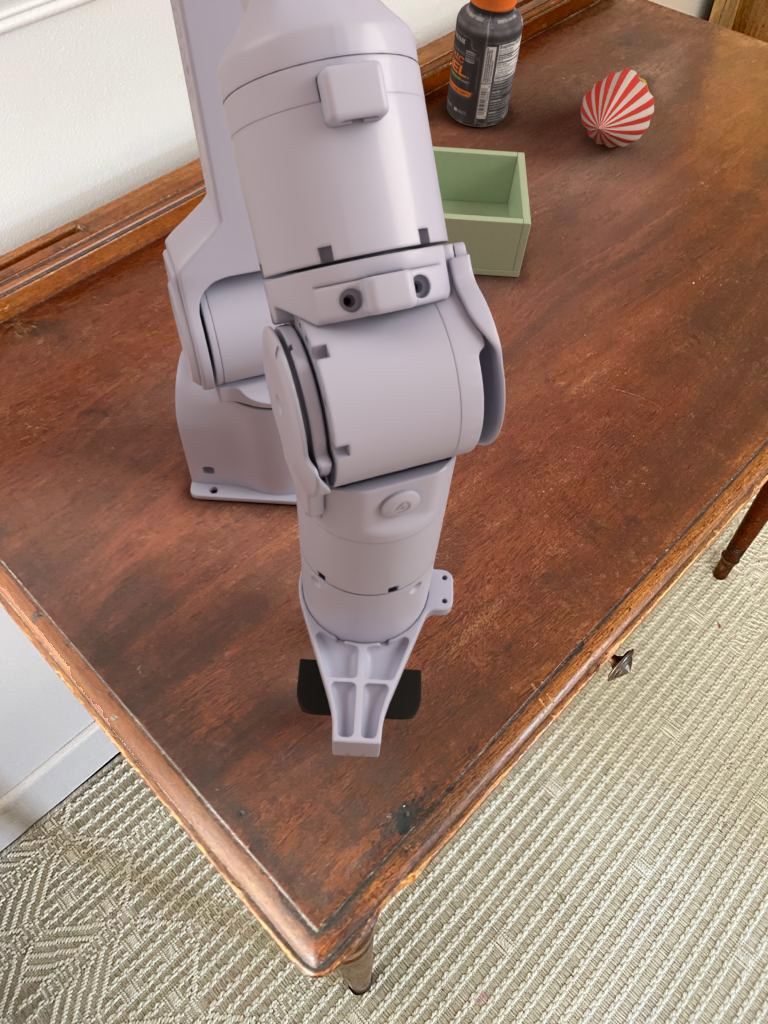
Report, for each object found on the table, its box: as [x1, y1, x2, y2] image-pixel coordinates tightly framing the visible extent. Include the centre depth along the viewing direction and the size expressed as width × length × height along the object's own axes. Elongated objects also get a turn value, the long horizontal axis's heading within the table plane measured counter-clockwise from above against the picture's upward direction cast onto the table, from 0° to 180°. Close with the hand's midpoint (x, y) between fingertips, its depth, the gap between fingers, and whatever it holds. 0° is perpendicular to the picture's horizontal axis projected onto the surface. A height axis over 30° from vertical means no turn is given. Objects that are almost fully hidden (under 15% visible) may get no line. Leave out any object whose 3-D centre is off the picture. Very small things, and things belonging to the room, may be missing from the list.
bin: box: [432, 145, 532, 278], centre depth 65 cm, size 10×9×5 cm
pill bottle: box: [446, 0, 524, 128], centre depth 73 cm, size 6×6×11 cm
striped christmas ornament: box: [580, 68, 655, 149], centre depth 75 cm, size 6×6×20 cm
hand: (360, 663), depth 44 cm, fingers open, 5 cm apart
